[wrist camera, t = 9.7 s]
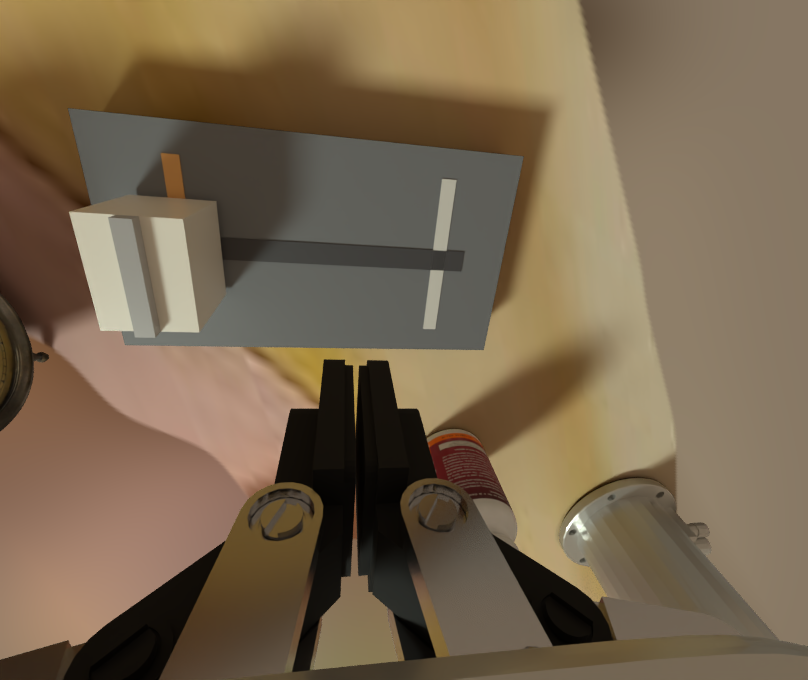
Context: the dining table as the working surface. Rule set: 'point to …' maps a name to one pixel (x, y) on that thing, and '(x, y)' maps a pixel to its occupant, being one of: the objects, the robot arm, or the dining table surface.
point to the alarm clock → (14, 363)
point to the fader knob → (151, 263)
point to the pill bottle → (474, 478)
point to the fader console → (321, 229)
